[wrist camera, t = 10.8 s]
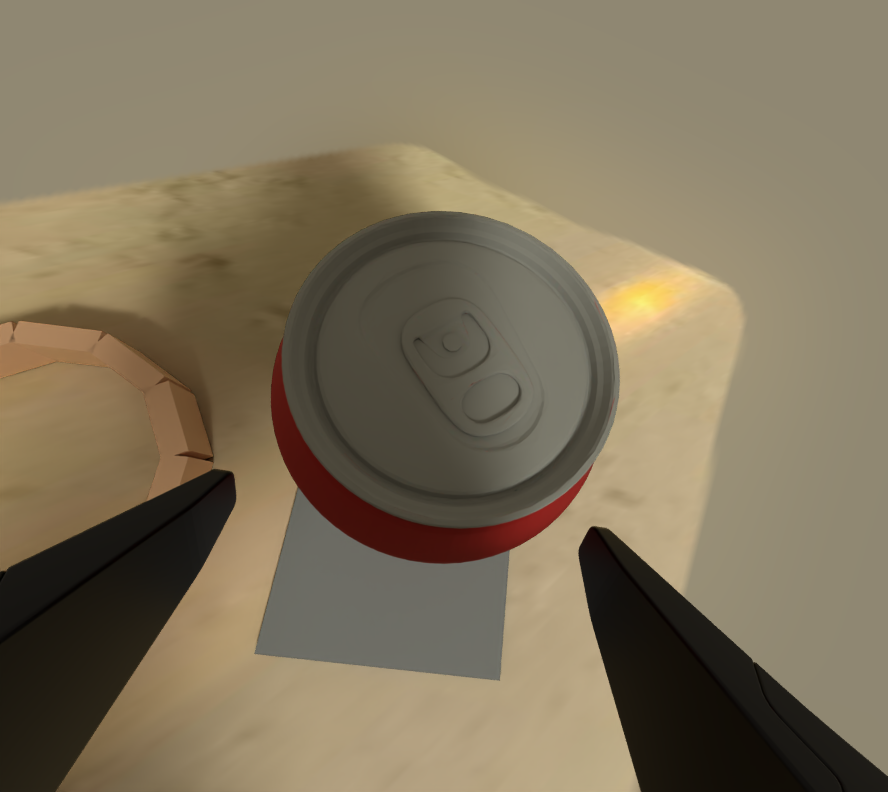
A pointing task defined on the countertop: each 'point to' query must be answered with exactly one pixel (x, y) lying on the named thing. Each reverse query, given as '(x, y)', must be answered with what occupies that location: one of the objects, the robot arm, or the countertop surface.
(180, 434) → the segmented polygon ring
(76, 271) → the countertop surface
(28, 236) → the countertop surface
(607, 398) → the beverage can
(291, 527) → the mat
